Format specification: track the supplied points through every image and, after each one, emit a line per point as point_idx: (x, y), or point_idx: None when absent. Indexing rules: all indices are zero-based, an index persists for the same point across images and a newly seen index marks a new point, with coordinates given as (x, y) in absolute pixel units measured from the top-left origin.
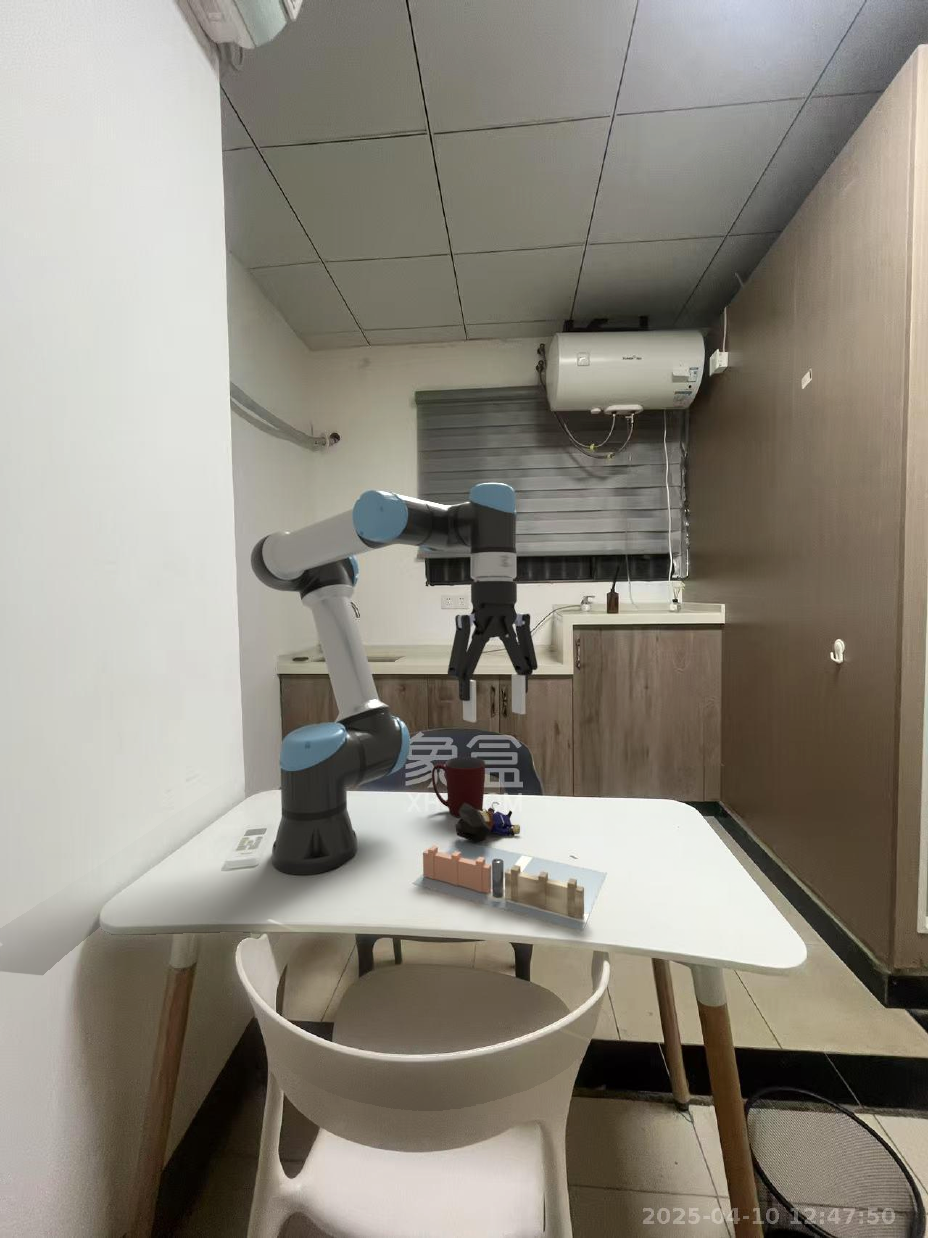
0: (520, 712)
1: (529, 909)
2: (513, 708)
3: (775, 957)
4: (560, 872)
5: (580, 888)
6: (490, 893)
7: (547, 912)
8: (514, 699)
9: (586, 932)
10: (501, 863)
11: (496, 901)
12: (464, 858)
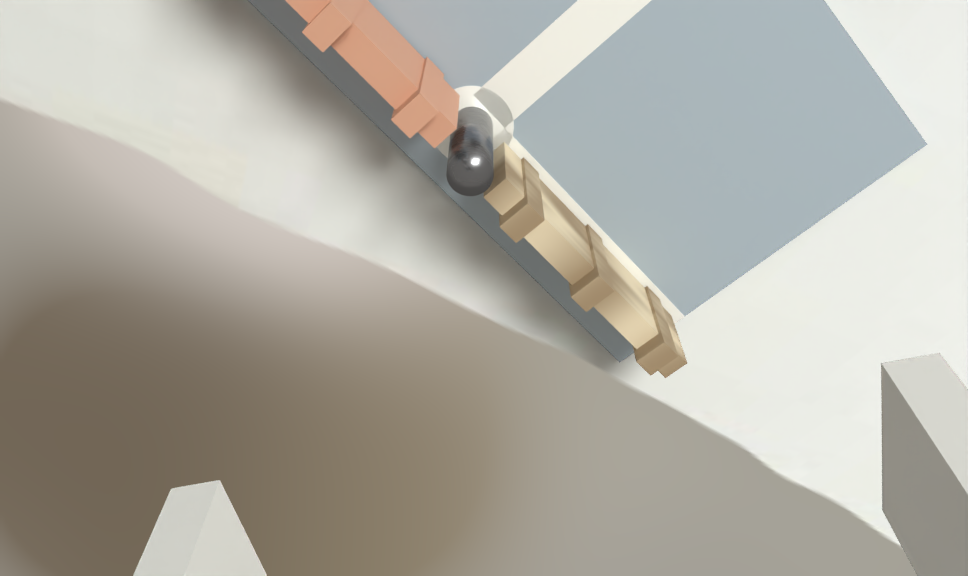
0: (890, 502)
1: None
2: (898, 421)
3: None
4: (773, 77)
5: (671, 365)
6: None
7: None
8: (957, 523)
9: (631, 358)
10: (478, 191)
11: None
12: (366, 36)
